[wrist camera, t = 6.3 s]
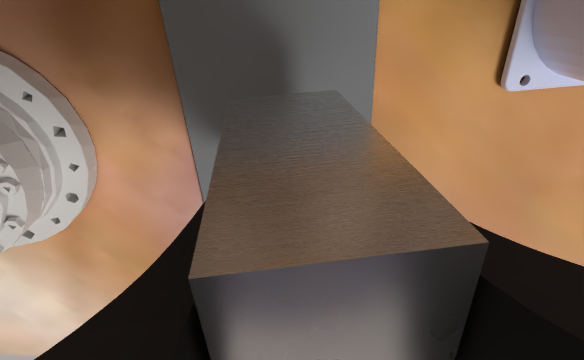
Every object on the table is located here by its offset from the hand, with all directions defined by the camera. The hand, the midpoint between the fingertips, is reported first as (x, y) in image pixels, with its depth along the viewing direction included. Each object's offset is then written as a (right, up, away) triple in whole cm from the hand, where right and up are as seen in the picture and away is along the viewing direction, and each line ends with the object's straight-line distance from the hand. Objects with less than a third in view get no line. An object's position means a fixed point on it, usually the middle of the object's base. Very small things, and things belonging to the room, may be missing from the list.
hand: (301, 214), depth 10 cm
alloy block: (-1, +3, +3) cm, 4 cm away
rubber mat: (-1, +4, +6) cm, 8 cm away
